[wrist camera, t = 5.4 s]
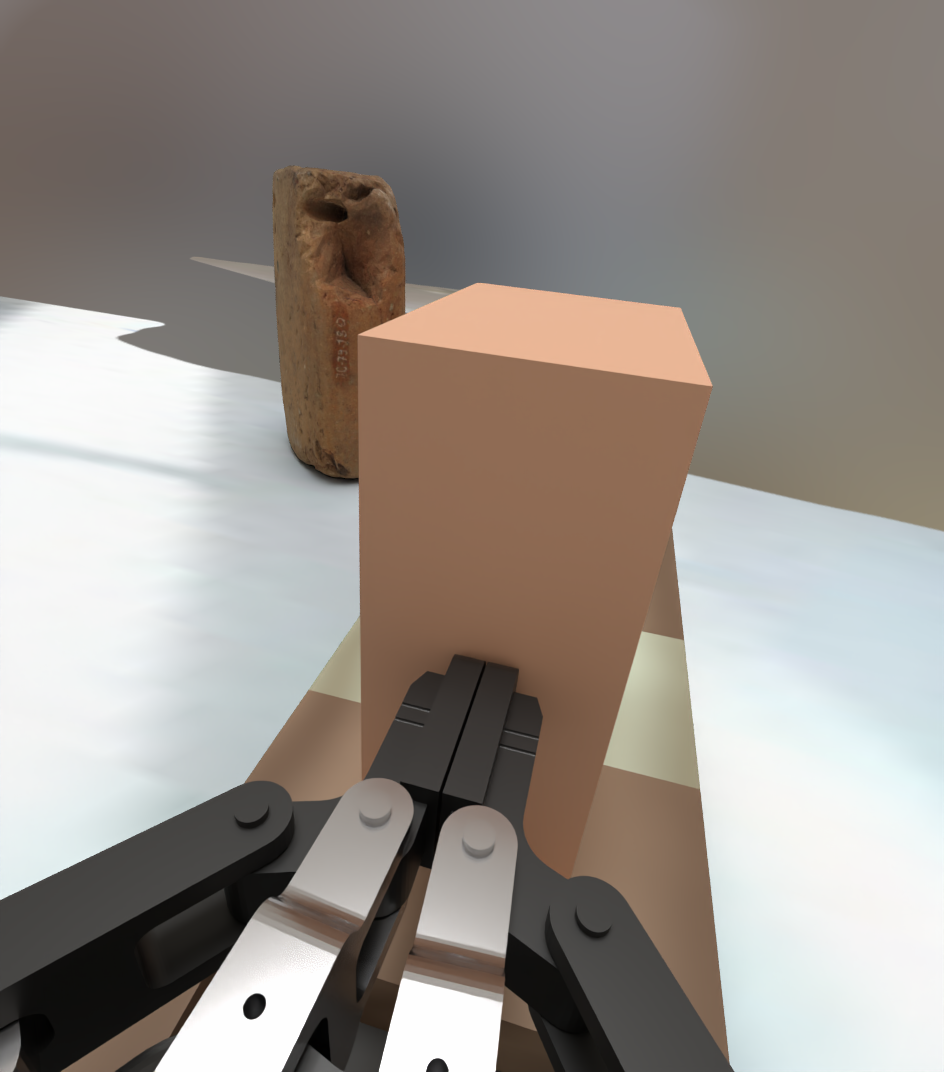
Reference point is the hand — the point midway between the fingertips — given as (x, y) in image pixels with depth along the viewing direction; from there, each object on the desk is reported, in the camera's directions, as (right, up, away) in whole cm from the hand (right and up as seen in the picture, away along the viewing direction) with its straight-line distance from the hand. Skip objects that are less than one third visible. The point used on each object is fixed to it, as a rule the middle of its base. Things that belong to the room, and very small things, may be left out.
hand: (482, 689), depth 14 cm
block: (-11, +10, +35) cm, 38 cm away
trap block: (+1, -4, +7) cm, 8 cm away
